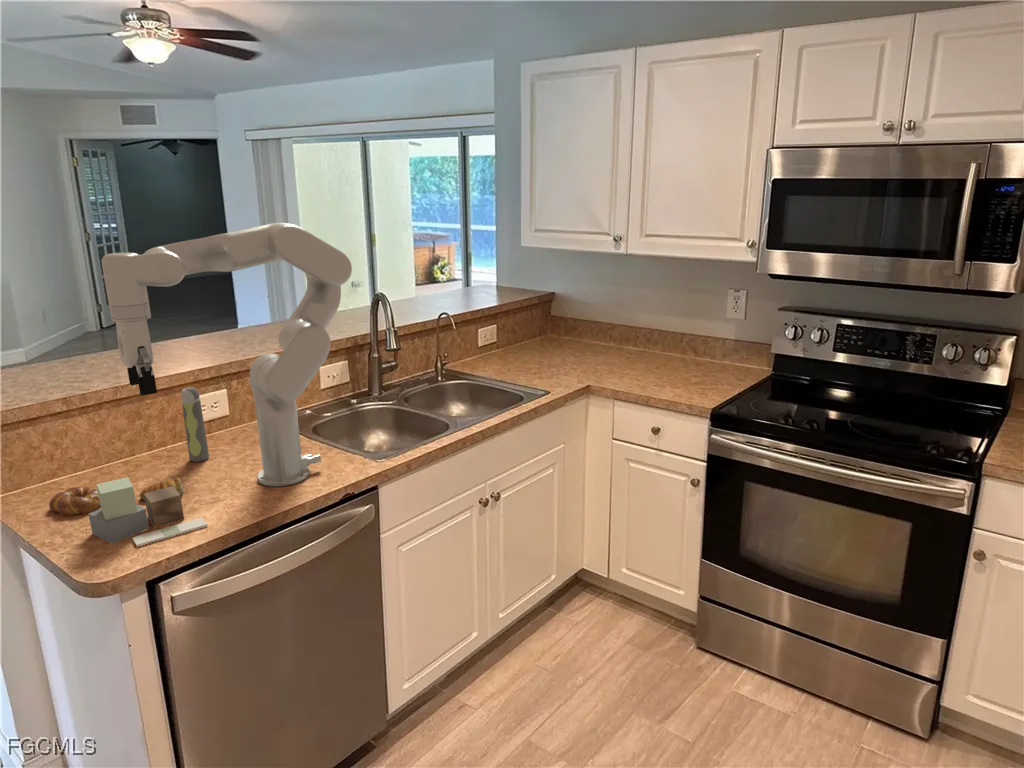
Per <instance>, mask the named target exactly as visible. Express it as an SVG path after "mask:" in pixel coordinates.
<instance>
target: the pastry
mask: <svg viewBox="0 0 1024 768" xmlns="http://www.w3.org/2000/svg"><path fill="white" fill-rule="evenodd" d="M171 486H173V487H174V488H175V489H176V490H177V492H178V493H179V494H180V496H181V497H183V496H184V485H183V483H182V480H181V478H180V477H176V478H174V479H169V478H168V479H163V480H161V481H160V482H157V483H155V484H151V485H150V486H148V487H145V488H144V489H143V490H141V491H140V494H139V498H140V499H141V500H143V501H145V497H144V493H148V492H152V491H156V490H160V489H164V488H167V487H171Z"/></svg>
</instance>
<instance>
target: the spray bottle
mask: <svg viewBox="0 0 1024 768" xmlns="http://www.w3.org/2000/svg"><path fill="white" fill-rule="evenodd" d="M180 394H181V401H182V402H181V403H182V404H181V405H182V412H183V419H184V420H183V422H184V428H185V437H186V443H187V450H188V457H189V460H190V461H191V462H194V463H200V462H204V461H206V460H208V458H210V453H209V446H208V441H207V435H206V427H205V423H204V422H205V421H204V415H203V409H202V404H201V399H200V394H199V391H198V389H197V388H196V387H193V386H188V387H185V388H183V389H182V390H181V393H180Z"/></svg>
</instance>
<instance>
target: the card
mask: <svg viewBox="0 0 1024 768" xmlns="http://www.w3.org/2000/svg"><path fill="white" fill-rule="evenodd" d="M207 526H208V527H209V524H208V523H207V521H205V519H204V518H203V517H198V518H195V519H192V520H189V521H185V522H181V523H178V524H175V525H171V526H168V527H164V528H161V529H157V530H153V531H150V532H147V533H144V534H140V535H137V536H131V537H132V541H133V543H134V542H135V543H134V544H136V545H135V547H137V546H141V545H143V544H146V543H150V542H154V541H157V542H159V541H158V540H161V541H163V540H162V539H164V540H166V539H165V538H168V537H171V536H174V535H178V534H181V533H184V534H186V533H185V532H188V531H191V532H193V531H192V530H194V531H197V530H196V529H198V530H201V529H204V528H207ZM200 528H201V529H200ZM188 533H189V532H188ZM181 535H182V534H181ZM178 536H179V535H178ZM174 537H175V536H174ZM171 538H172V537H171ZM168 539H169V538H168ZM154 543H155V542H154ZM141 547H142V546H141Z"/></svg>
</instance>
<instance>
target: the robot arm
mask: <svg viewBox="0 0 1024 768" xmlns="http://www.w3.org/2000/svg"><path fill="white" fill-rule="evenodd" d="M279 261H284V262H286V263H288V264H290V265H291V266H293V267H295V268H296V269H298V270H301V271H302V272H303V273H304V275H305V277H306V290H305V293H304V294H303V295H304V296H303V297H302V298H301V300H300V301H299V303H298V305H297V306H296V308H295V310H294V311H293V312H292V313H291V315H290V316H289V317H288V319H287V320H286V322H285V323H284V325H283V326H282V328H280V331H279V333H278V344H279V346H280V347H281V348H282V350H283V351H282V352H281V354H278V353H277V354H276V353H265V354H261V355H260V356H258V357H257V358H255V360H254V361H253V362H252V363H251V366H250V368H249V369H250V370H249V382H250V386H251V391H252V395H253V400H254V405H255V412H256V423H257V430H258V438H259V445H260V446H259V447H260V454H261V455H260V457H261V463H262V464H261V465H262V469H261V470H260V471H259V472H258V473H257V475H256V477H257V482H258V483H259V484H261V485H264V486H266V487H267V486H268V487H285V486H290V485H294V484H297V483H300V482H302V481H304V480H305V479H307V478H308V477H309V476H310V474H311V473H310V466H311V465H312V464H317V463H321V462H322V457H321V455H320V454H317V455H312V454H311V453H310V454H306V455H303V454H302V447H301V437H300V428H299V418H298V416H299V414H298V407H297V401H296V400H297V398H299V397H301V395H302V394H303V393H304V391H305V390H306V389H307V388H308V386H309V384H310V383H311V382H312V381H313V379H314V377H315V376H316V375H317V373H318V372H319V370H320V368H321V367H322V366H323V364H324V363H325V361H326V360H327V358H328V356H329V353H330V350H331V336H330V335H329V333H328V331H327V328H328V327H329V325H330V323H331V321H332V320H333V318H334V317H335V315H336V313H337V311H338V309H339V306H340V304H341V299H342V298H341V297H342V287H341V286H342V285H344V284H346V283H347V282H348V281H349V279H350V277H351V276H352V271H353V267H352V263H351V261H350V259H349V257H348V256H347V255H346V254H345V253H344V252H343V251H342V250H340V249H338V248H336V247H334V246H333V245H331V244H329V243H327V242H326V241H325V240H323V239H321V238H319V237H317V236H316V235H314V234H312V233H311V232H309V231H307V230H306V229H304V228H303V227H301V226H299V225H297V224H293V223H287V222H273V223H268V224H263V225H257V226H253V227H249V228H244V229H239V230H234V231H229V232H225V233H219V234H214V235H210V236H209V235H208V236H207V237H201V238H194V239H187V240H184V241H178V242H174V243H169V244H164V245H159V246H156V247H152V248H150V249H148V250H146V251H145V252H143V254H138V253H135V252H112V253H108V254H105V255H104V256H103V257H102V258H101V265H102V267H101V268H102V272H103V273H102V274H103V278H104V285H105V289H106V296H107V301H108V307H109V312H110V318H111V321H112V322H115V326H116V335H117V344H118V351H119V359H120V361H121V362H122V363H123V364H124V365H126V367H127V368H126V369H127V376H128V380H129V385H130V386H135V385H136V386H137V385H138V389H139V390H138V391H139V394H140V395H141V396H148V395H153V394H157V393H158V391H157V384H156V377H155V372H154V370H153V369H154V368H153V366H152V364H153V363H154V353H153V349H152V348H153V346H152V341H151V335H150V329H149V327H148V321H147V320H149V319H151V318H152V314H151V308H150V307H151V306H150V300H149V294H148V288H147V287H172V286H175V285H178V284H179V283H181V281H182V280H183V279H184V277H185V276H188V275H192V274H198V273H204V272H205V273H207V272H220V273H221V272H222V273H224V272H225V273H226V272H227V273H229V272H238V271H241V270H246V269H249V268H252V267H257V266H261V265H266V264H271V263H275V262H279Z"/></svg>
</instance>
